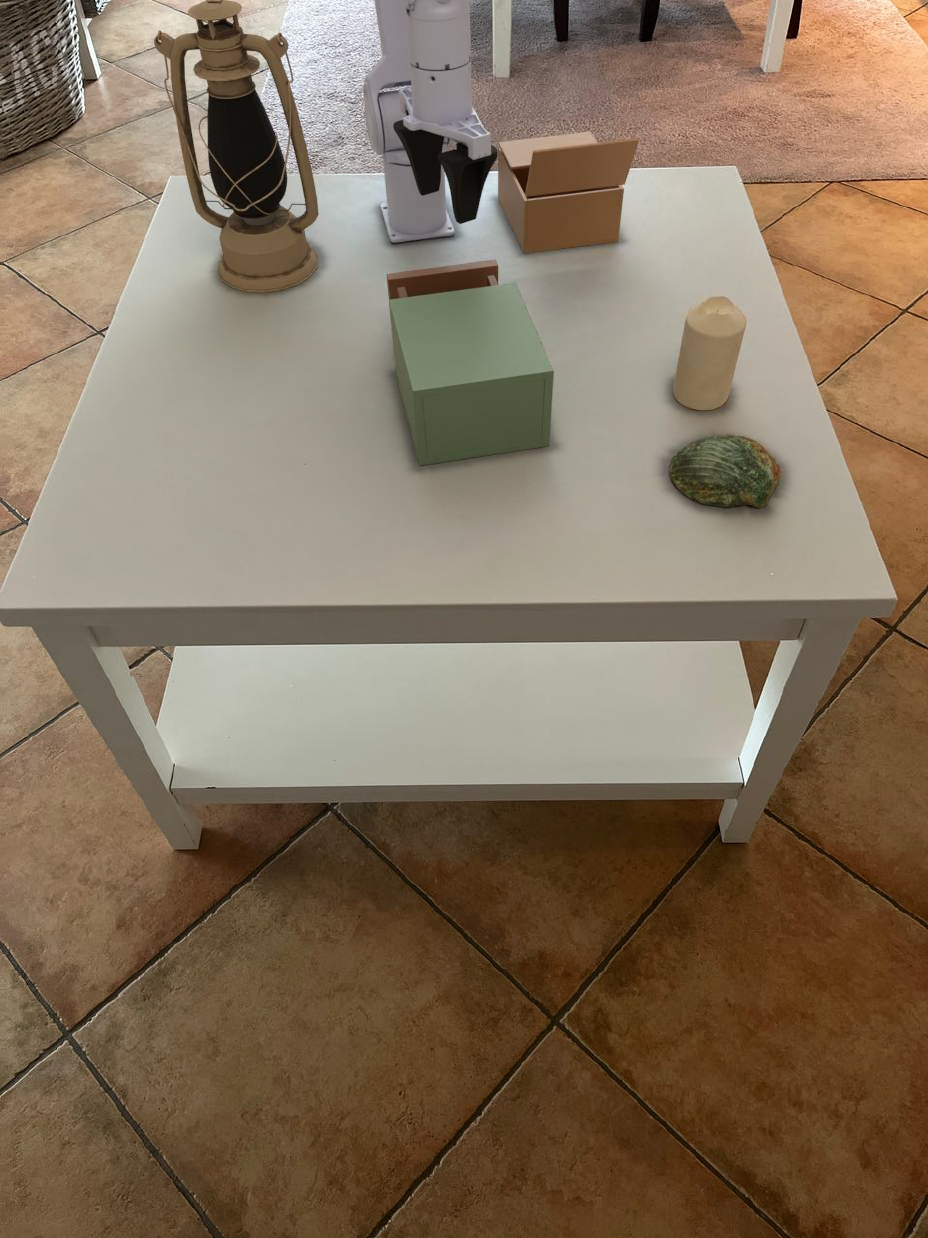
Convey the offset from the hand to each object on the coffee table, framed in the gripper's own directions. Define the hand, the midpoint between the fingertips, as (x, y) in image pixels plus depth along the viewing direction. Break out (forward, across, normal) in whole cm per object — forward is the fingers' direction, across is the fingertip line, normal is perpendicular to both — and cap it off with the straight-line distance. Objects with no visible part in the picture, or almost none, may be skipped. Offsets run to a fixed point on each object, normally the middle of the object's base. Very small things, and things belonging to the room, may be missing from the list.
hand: (447, 205), depth 95 cm
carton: (+10, -8, +20) cm, 24 cm away
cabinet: (+11, +18, -8) cm, 22 cm away
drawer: (+10, +9, -5) cm, 15 cm away
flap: (0, 0, +17) cm, 17 cm away
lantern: (+10, -19, -14) cm, 26 cm away
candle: (+12, +28, +12) cm, 33 cm away
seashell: (+12, +39, +6) cm, 41 cm away
